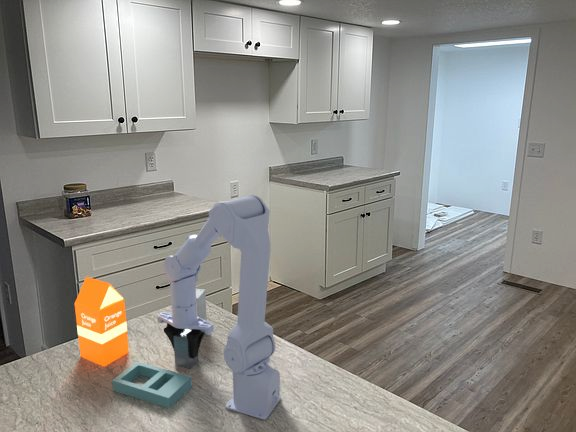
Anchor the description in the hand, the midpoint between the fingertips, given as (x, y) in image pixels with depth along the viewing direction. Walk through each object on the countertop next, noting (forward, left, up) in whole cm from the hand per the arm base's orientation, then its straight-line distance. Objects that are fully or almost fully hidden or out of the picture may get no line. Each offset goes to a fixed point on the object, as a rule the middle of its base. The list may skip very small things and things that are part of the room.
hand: (186, 354), depth 113 cm
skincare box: (+6, -13, -3) cm, 15 cm away
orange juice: (+21, +5, -3) cm, 22 cm away
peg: (0, 0, -2) cm, 2 cm away
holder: (+1, +12, -2) cm, 12 cm away
